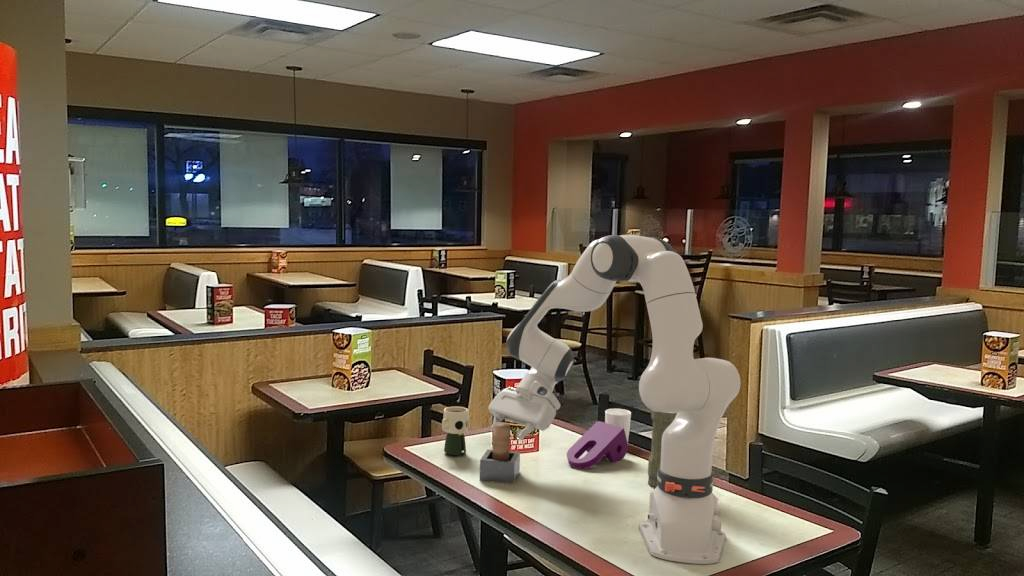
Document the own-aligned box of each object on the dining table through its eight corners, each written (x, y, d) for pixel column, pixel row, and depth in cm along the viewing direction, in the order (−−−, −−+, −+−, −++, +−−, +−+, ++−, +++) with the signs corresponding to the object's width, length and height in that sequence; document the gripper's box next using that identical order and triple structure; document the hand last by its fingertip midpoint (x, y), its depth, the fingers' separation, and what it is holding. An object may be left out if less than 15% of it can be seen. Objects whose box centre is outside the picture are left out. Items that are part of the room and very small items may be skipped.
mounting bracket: (593, 490, 212) (630, 451, 223) (585, 466, 209) (623, 428, 220) (567, 481, 219) (604, 443, 230) (559, 457, 216) (598, 420, 226)
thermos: (678, 495, 194) (686, 358, 191) (636, 484, 201) (643, 352, 198) (693, 486, 201) (701, 354, 198) (652, 475, 208) (659, 348, 205)
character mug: (450, 461, 214) (452, 415, 213) (432, 455, 219) (433, 410, 218) (476, 452, 223) (478, 408, 222) (458, 447, 227) (459, 403, 226)
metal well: (513, 483, 198) (514, 462, 198) (479, 480, 200) (480, 459, 199) (519, 472, 207) (520, 452, 207) (486, 469, 209) (487, 449, 208)
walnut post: (506, 479, 201) (508, 427, 200) (490, 478, 202) (492, 426, 200) (509, 474, 205) (511, 423, 204) (493, 472, 206) (495, 421, 205)
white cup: (615, 438, 242) (617, 407, 241) (634, 444, 236) (636, 412, 235) (598, 442, 237) (599, 410, 236) (617, 449, 231) (619, 416, 230)
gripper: (500, 379, 215) (473, 419, 209) (555, 392, 201) (527, 436, 195) (511, 392, 219) (484, 432, 213) (565, 407, 204) (539, 450, 198)
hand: (505, 434), depth 204 cm, fingers open, 8 cm apart
